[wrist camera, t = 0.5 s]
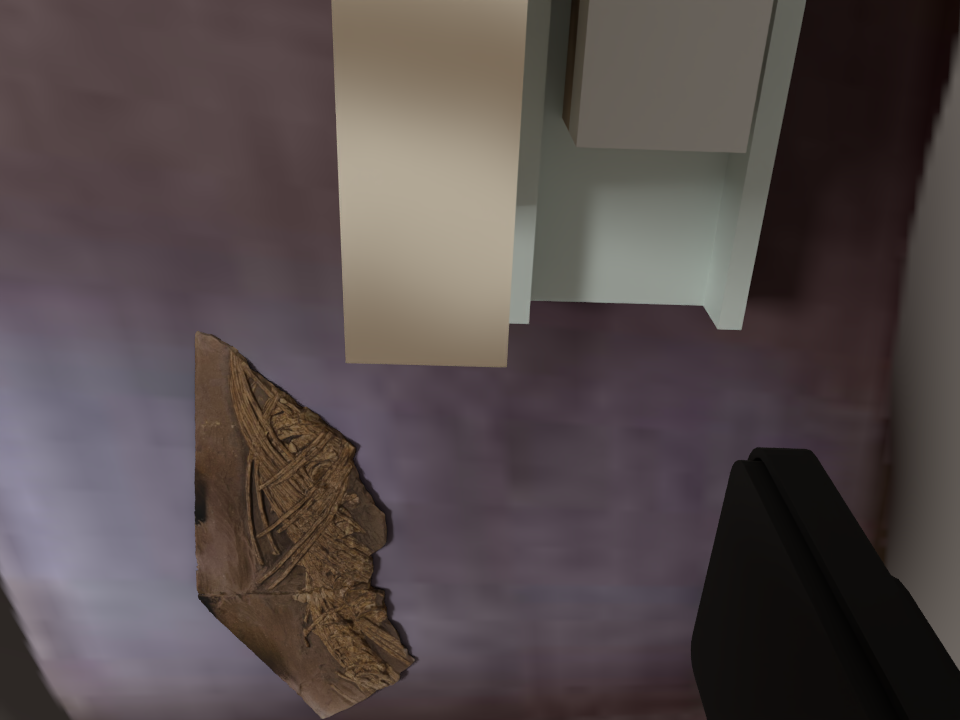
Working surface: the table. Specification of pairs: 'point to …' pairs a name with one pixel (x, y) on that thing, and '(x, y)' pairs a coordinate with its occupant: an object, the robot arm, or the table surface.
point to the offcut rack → (639, 194)
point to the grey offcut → (667, 73)
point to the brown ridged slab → (288, 536)
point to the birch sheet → (428, 176)
